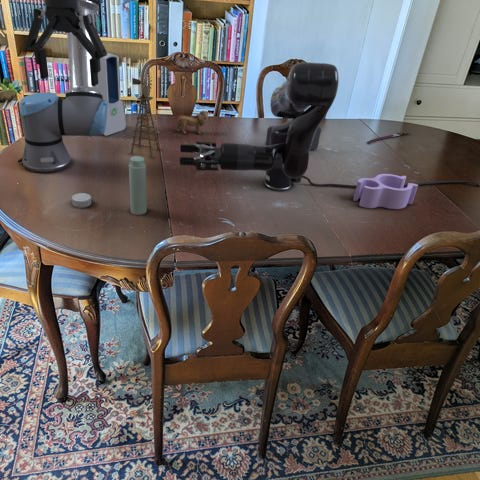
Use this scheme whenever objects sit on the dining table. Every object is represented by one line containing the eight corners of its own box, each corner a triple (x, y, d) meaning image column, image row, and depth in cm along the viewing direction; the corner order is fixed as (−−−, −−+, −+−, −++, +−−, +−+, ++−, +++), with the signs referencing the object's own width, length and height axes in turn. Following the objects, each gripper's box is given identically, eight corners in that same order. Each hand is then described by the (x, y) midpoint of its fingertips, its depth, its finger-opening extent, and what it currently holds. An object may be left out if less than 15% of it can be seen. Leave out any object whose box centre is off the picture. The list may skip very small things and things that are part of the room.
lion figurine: (205, 129, 202) (206, 108, 197) (209, 133, 198) (210, 112, 193) (172, 130, 197) (172, 109, 192) (175, 135, 193) (175, 113, 188)
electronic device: (104, 136, 184) (98, 57, 168) (90, 131, 187) (84, 53, 171) (126, 129, 193) (123, 53, 177) (113, 124, 196) (109, 49, 180)
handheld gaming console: (315, 147, 196) (319, 124, 190) (317, 149, 194) (322, 126, 188) (264, 149, 189) (267, 125, 183) (266, 152, 187) (269, 127, 181)
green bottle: (142, 216, 137) (141, 163, 128) (128, 213, 137) (125, 160, 128) (149, 208, 140) (148, 157, 131) (134, 206, 141) (132, 154, 132)
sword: (405, 131, 223) (406, 129, 223) (410, 133, 221) (411, 131, 221) (362, 143, 208) (363, 140, 207) (367, 145, 206) (368, 143, 205)
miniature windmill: (151, 157, 172) (150, 74, 155) (129, 154, 173) (126, 70, 156) (160, 149, 179) (159, 68, 163) (139, 145, 180) (137, 64, 164)
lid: (85, 197, 143) (85, 191, 142) (95, 204, 140) (94, 198, 139) (69, 202, 139) (68, 196, 138) (78, 209, 136) (77, 203, 135)
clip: (366, 212, 151) (371, 193, 147) (347, 194, 161) (351, 176, 157) (417, 207, 158) (423, 188, 154) (395, 190, 167) (401, 172, 163)
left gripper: (0, -17, 107) (16, 78, 118) (104, -4, 105) (110, 91, 116) (18, -19, 113) (31, 71, 125) (117, -7, 111) (121, 84, 123)
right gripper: (236, 135, 136) (180, 132, 134) (241, 155, 125) (179, 152, 123) (234, 158, 141) (180, 156, 138) (238, 180, 129) (179, 177, 127)
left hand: (69, 81), depth 121 cm, fingers open, 13 cm apart
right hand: (180, 154), depth 130 cm, fingers open, 8 cm apart
